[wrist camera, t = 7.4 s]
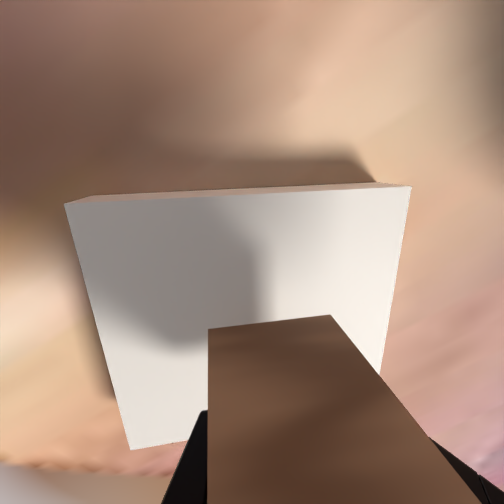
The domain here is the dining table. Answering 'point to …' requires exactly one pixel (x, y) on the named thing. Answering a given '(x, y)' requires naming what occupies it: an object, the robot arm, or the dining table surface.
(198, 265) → the base block
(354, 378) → the walnut block
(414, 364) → the dining table surface
